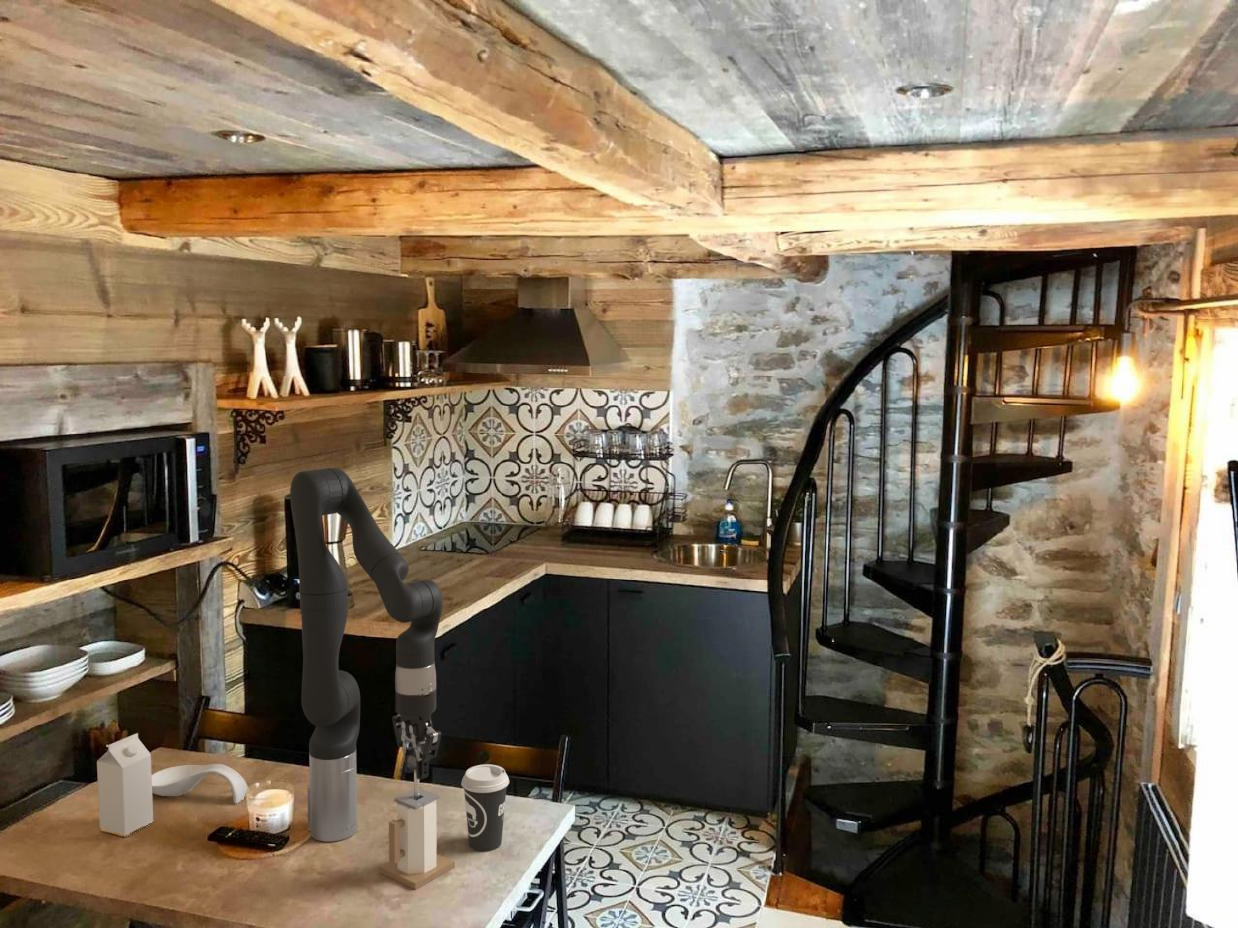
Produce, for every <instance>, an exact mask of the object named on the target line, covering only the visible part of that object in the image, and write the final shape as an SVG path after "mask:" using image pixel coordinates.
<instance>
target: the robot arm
mask: <svg viewBox="0 0 1238 928" xmlns="http://www.w3.org/2000/svg"><path fill="white" fill-rule="evenodd" d="M289 493H290V494H289V496H290V497H289V498H290V500H289V501H290V508H291V515H292V520H293V521H292V522H293V528H294V534H295V535H294V536H295V540H296V550H297V560H298V562H297V563H298V579H299V581H298V584H299V586H298V588H299V606H300V607H299V608H300V609H299V610H300V617H301V619H300V620H301V639H302V660H303V661H302V677H301V678H302V680H301V693H300V694H301V700H300V701H301V702H300V703H301V707H302V711H303V714H304V716H305V717H306V719H307V720H308V721H309V722H310V723H311V724H312V725H313V726H315V729H314V731H313V733H312V735H311V737H310V738H309V742H308V751H309V752H308V753H309V754H308V756H309V758H308V759H309V761H308V762H309V785H308V786H307V788H306V789H307V790H306V791H307V827H308V828H307V830H308V829H310V830H311V831H310V835H311V837H312V838H313V839H314V840H317V841H319V842H337V841H338V842H339V841H342V840H345V839H348V838H350V837H352V836H353V835H354V834H355V833H356V832H357V831H358V795H357V794H358V792H357V791H358V787H357V784H358V783H357V782H358V781H357V780H358V779H357V777H358V776H357V740H358V738H359V734H360V727H361V723H360V722H361V694H360V693H361V692H360V688H359V685H358V682H357V680H356V678H355V677H354V676H353V675H352V674H351V673H349V672H348V671H344V670H340V669H339V667H340V666H339V657H340V650H341V649H340V648H341V645H342V641H343V637H344V634H345V630H346V625H347V622H348V617H349V615H348V614H349V596H348V595H349V593H348V592H349V591H348V581H347V577H346V574H345V572H344V570H343V569H342V566H340V564H339V562H338V561H337V559H336V558H335V556H334V555H333V553H332V552H331V550H330V549H329V547H328V545H327V543H326V541H325V536H324V530H323V522H322V521H323V520H322V519H323V518H322V516H327V515H333V514H337V515H340V516H341V518H343V520H344V521H346V523H347V524H348V526H349V527H350V531H351V536H352V549H353V554H354V556H355V558H356V560H357V562H358V564H359V566H361V568H362V569H363V570H364V571H365V573H366V574H367V575H368V576H369V578H370V579H371V580H372V581H373V582H374V583H375V586H376V588H377V591H378V594H379V596H380V598H381V601H382V603H383V607H384V608H385V610H386V612H387V614H388V615H389V617H391V618H392V619H394V621H397V622H399V623H402V624H404V623H405V624H406V623H410V625H409V627H408V628H407V629H406V630H404V631H403V632H401V633H400V634H399V635H398V636H397V638H396V640H395V641H396V644H395V645H396V646H395V653H396V656H395V657H396V659H395V660H396V664H395V665H396V668H395V676H394V677H395V678H394V682H395V683H394V684H395V685H394V686H395V687H394V688H395V691H394V692H395V712H396V713H397V715H393V716H392V718H391V720H392V721H391V722H392V725H393V730H394V735H395V739H396V744H397V747H398V748H399V749H400V748H402V749H401V750H402V753H403V754H404V772H406V773H407V774H411V773H414V769H410V768H408V767H407V754H408V753H410V752H413V751H416V758H417V760H416V777H417V779H419V781H420V780H425V779H426V778H428V777H429V774H430V773H429V766H430V763H429V761H430V760H431V759H434V758H436V757H437V754H438V750H439V747H440V743H441V738H442V732H441V731H440V730H437V731H436V730H435V729H434V728H433V721H432V716H433V715H432V714H433V713H434V712H435V711H436V709H437V671H436V666H435V665H436V662H435V640H436V637H437V633H438V629H439V626H440V621H441V617H442V613H443V607H444V599H443V593H442V591H441V587H439V585H438V584H437V582H435V581H434V580H431V579H419V580H415V581H412V582H408V583H405V582H404V580H405V579H406V577H407V576H408V574H409V572H410V571H409V570H410V567H409V563H408V562H407V561H406V559H405V558H404V557H403V555H402V554H401V553H400V552H399V551H398V550H397V548H396V546H394V545H393V544H392V542H391V541H390V540H389V538H387V536H386V535H385V534H384V532H383V531H382V530H381V529H380V527H379V525H378V524H377V522H376V521H375V518H374V516H373V514H372V513H371V511H370V509H369V507H368V506H367V503H365V501H364V499H363V498H362V495H361V494H360V492H359V491H358V489H357V486H356V485H355V484H354V482H353V480H352V479H351V478H350V476H349V475H348V474H347V473H346V472H345V471H344V470H342V469H340V468H338V467H327V468H319V469H309V470H304V471H303V470H301V471H299V472H297V473H296V474H295V475H294V476H293V477H292V480H291V483H290V489H289ZM422 749H423V750H422ZM421 751H423V753H421Z"/></svg>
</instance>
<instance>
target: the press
mask: <svg viewBox="0 0 1238 928" xmlns="http://www.w3.org/2000/svg"><path fill="white" fill-rule="evenodd" d="M419 793H420V799H418V800H415V799H414V789H412V790H409V791H407V792H405V793H402V794H401V795H399V796H397V797H395V798H394V799H393V801H394V802H395V803H396V820H395V819H391V820H389V821H388V859H389V861H388V862H385V863H384V864H382V865H380V866H379V873H380V874H382V875H384V876H386V877H389V878H390V879H392V880H394V881H397V882H399V883H401V884H403V885H405V886H407V887H409V888H411V889H413V890H418V889H419V888H421V887H423V886H424V885H425V886H426V884H429V883H430V882H432V881H433V880H435V879H437V878H440V877H441V876H442V875H444V874H446V873H448V872H450V871H451V870H453V869H455V868H456V867H455V866H456V863H455V861H454V860H452V859H450V858H447V857H445V856H444V855H443V856H442V855H441V854H438V853H437V842H438V841H437V835H438V834H437V833H438V832H437V829H438V828H437V800H439V799H440V795H438V794H436V793H434V792H431V791H428V790H427V789H426V790H425V789H424V788H420V787H419Z"/></svg>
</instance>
